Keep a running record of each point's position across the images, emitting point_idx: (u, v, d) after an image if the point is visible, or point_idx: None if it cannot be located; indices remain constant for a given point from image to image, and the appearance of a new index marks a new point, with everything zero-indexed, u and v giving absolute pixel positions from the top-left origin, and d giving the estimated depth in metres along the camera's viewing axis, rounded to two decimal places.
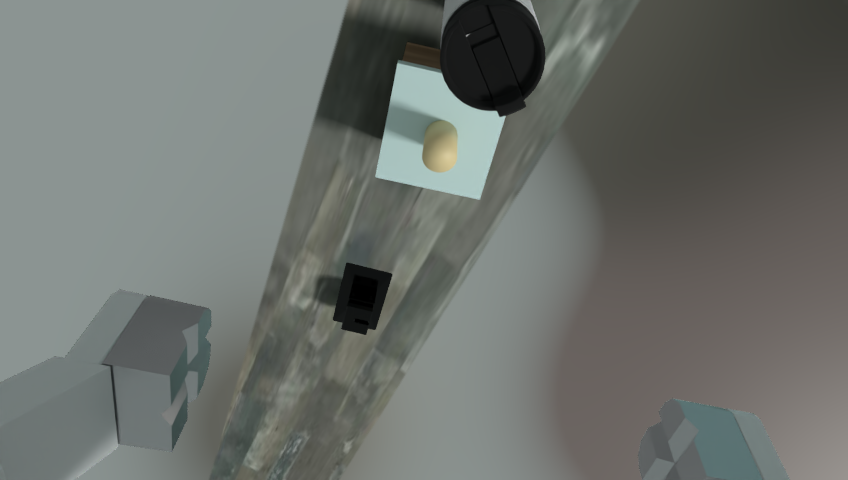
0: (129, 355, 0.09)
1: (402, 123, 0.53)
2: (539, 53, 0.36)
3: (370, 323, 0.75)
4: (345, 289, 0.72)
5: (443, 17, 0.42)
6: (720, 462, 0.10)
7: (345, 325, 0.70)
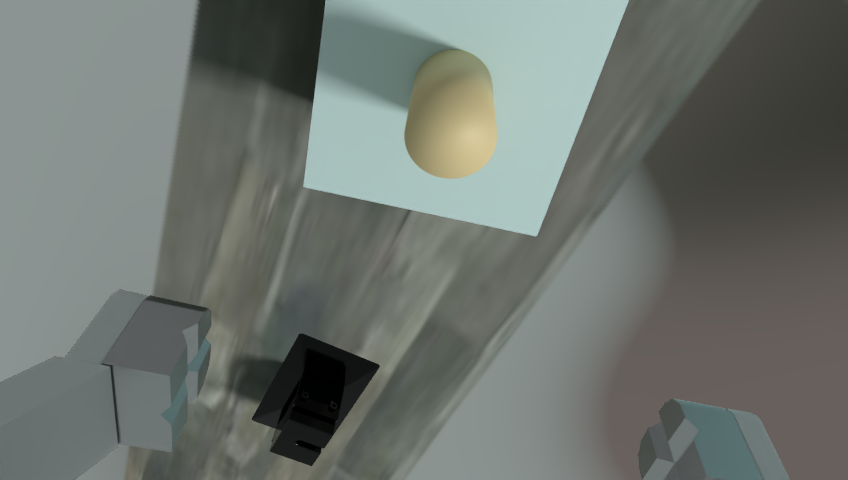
0: (129, 354, 0.09)
1: (359, 58, 0.22)
2: None
3: None
4: (288, 377, 0.41)
5: None
6: (720, 462, 0.10)
7: (278, 447, 0.39)
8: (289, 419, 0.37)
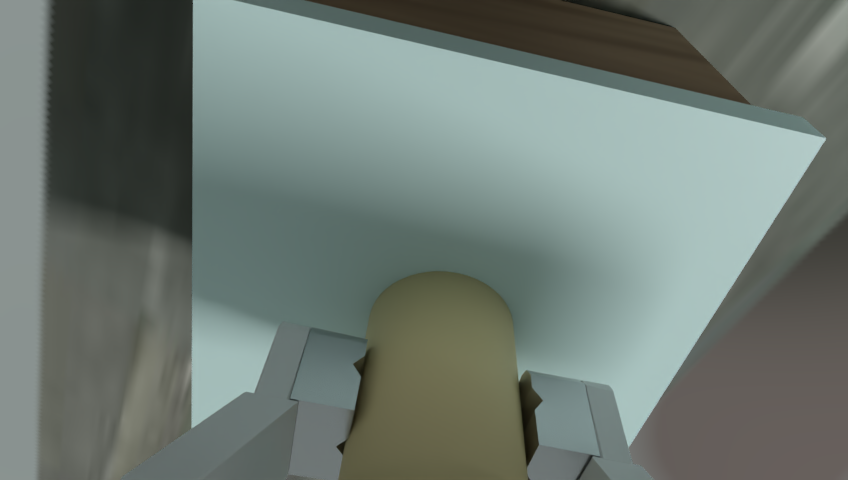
0: (312, 388, 0.09)
1: (266, 281, 0.12)
2: None
3: None
4: None
5: None
6: (558, 431, 0.09)
7: None
8: None
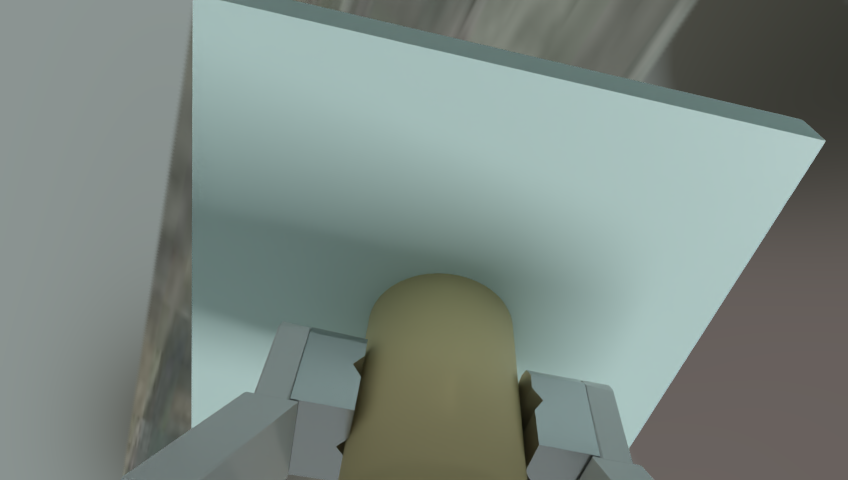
0: (312, 388, 0.09)
1: (266, 283, 0.12)
2: None
3: None
4: None
5: None
6: (558, 431, 0.09)
7: None
8: None
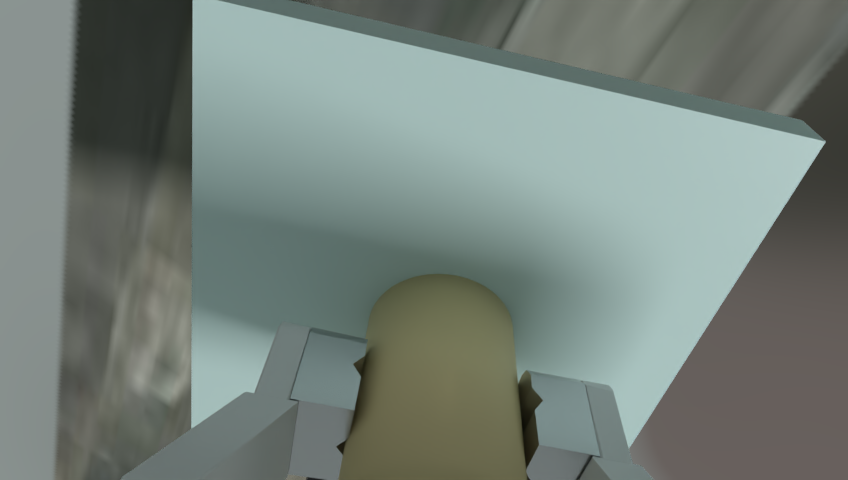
0: (311, 388, 0.09)
1: (266, 283, 0.12)
2: None
3: None
4: None
5: None
6: (558, 431, 0.09)
7: None
8: None
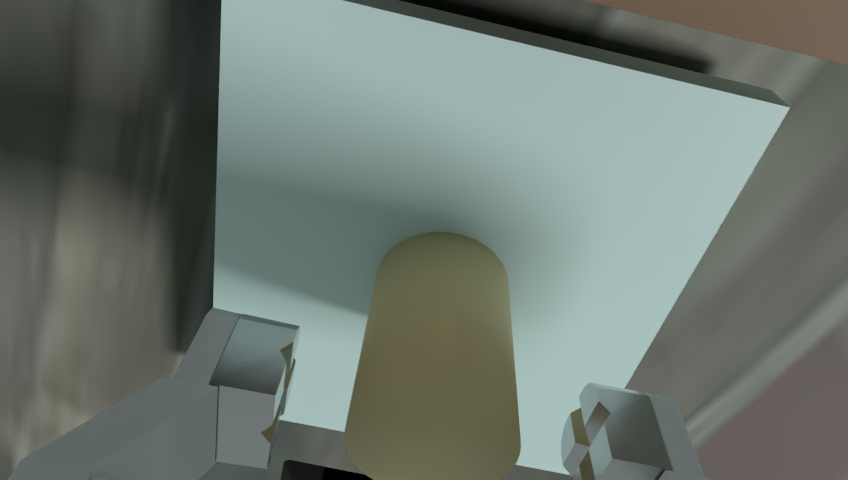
0: (234, 374, 0.09)
1: (282, 241, 0.13)
2: None
3: None
4: None
5: None
6: (629, 445, 0.10)
7: None
8: None
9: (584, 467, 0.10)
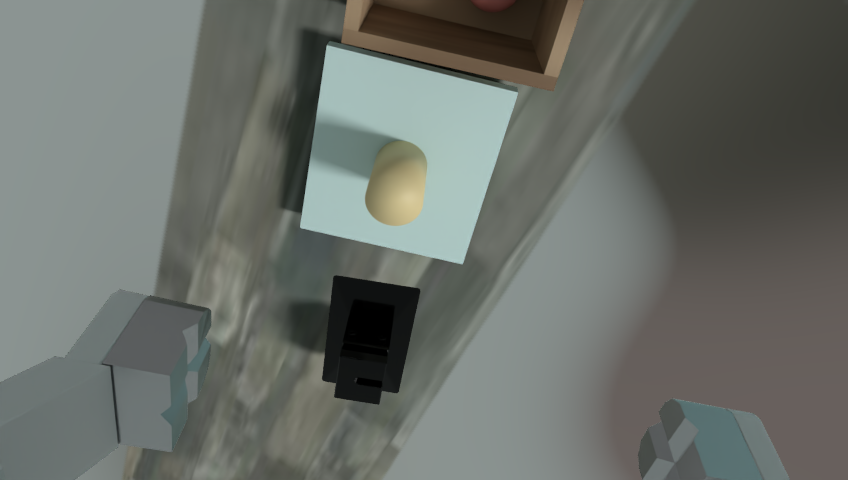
0: (129, 355, 0.09)
1: (338, 144, 0.33)
2: None
3: (387, 380, 0.44)
4: (338, 325, 0.41)
5: None
6: (720, 462, 0.10)
7: (340, 390, 0.39)
8: (340, 356, 0.37)
9: None
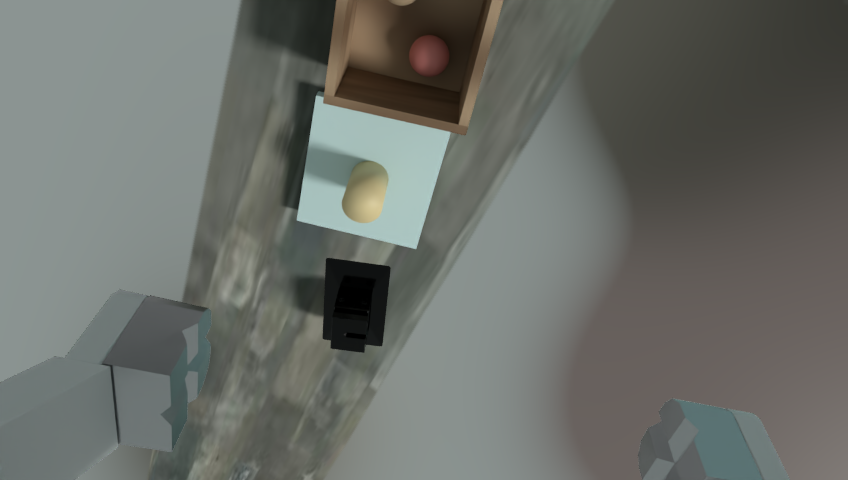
0: (129, 354, 0.09)
1: (324, 162, 0.46)
2: None
3: (372, 336, 0.57)
4: (332, 295, 0.54)
5: None
6: (720, 462, 0.10)
7: (335, 343, 0.52)
8: (332, 317, 0.51)
9: None
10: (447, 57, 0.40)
